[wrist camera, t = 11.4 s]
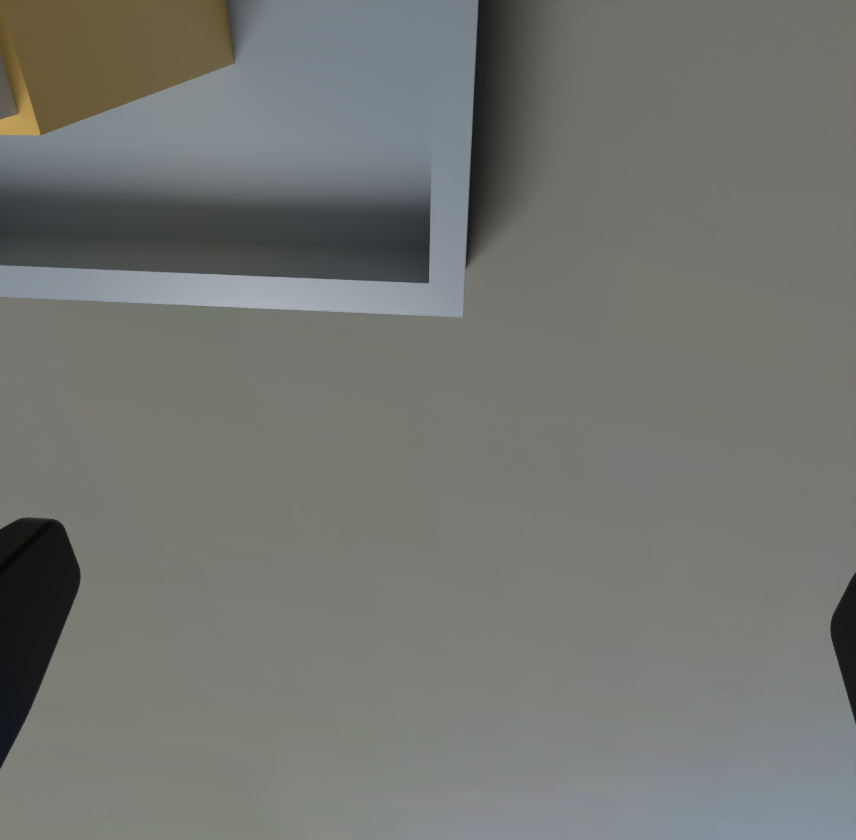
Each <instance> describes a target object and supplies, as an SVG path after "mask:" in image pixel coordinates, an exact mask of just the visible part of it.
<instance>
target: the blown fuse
mask: <svg viewBox="0 0 856 840" xmlns="http://www.w3.org/2000/svg"><path fill="white" fill-rule="evenodd" d="M232 64H235V63H234V56H233V49H232V42H231V35H230V28H229V21H228V14H227V7H226V0H0V135H43V134H46V133H49V132H51V131H54V130H57V129H59V128H62V127H65V126H68V125H70V124H73V123H76V122H78V121H81V120H84V119H86V118H89V117H92V116H94V115H97V114H100V113H103V112H105V111H108V110H111V109H113V108H116V107H119V106H121V105H124V104H127V103H130V102H132V101H135V100H138V99H140V98H143V97H146V96H148V95H151V94H154V93H156V92H159V91H162V90H165V89H167V88H170V87H173V86H175V85H178V84H181V83H183V82H186V81H189V80H191V79H194V78H197V77H200V76H202V75H205V74H208V73H210V72H213V71H216V70H218V69H221V68H224V67H227V66H229V65H232Z"/></svg>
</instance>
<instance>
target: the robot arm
mask: <svg viewBox="0 0 856 840" xmlns="http://www.w3.org/2000/svg"><path fill="white" fill-rule="evenodd" d="M80 577H81V575H80V568H79V565H78V562H77V559H76V557H75V554H74V551H73V549H72V546H71V543H70V541H69V538H68V535H67V533H66V530H65V528H64V526H63V525H62V524H61V523H60V522H59V521H58V520H55V519H46V518H29V517H28V518H21V519H18V520H16V521H14V522H12V523H11V524H9V525H7V526H5V527H3V528H2V529H0V768H1V767H2V765H3V763H4V761H5V759H6V757H7V755H8V753H9V751H10V749H11V747H12V745H13V743H14V741H15V739H16V738H17V736H18V734H19V732H20V730H21V728H22V726H23V724H24V722H25V720H26V717H27V715H28V713H29V711H30V709H31V707H32V704H33V702H34V700H35V698H36V695H37V693H38V691H39V688H40V686H41V683H42V681H43V678H44V675H45V673H46V670H47V668H48V665H49V663H50V660H51V658H52V655H53V653H54V650H55V648H56V645H57V643H58V640H59V638H60V635H61V632H62V630H63V627H64V625H65V622H66V620H67V617H68V615H69V612H70V610H71V607H72V605H73V602H74V600H75V597H76V595H77V592H78V589H79V585H80ZM830 631H831V638H832V642H833V646H834V649H835V653H836V656H837V660H838V663H839V667H840V671H841V674H842V678H843V681H844V685H845V688H846V692H847V695H848V699H849V702H850V706H851V709H852V713H853V716H854V720H855V723H856V573H855V574H854V575H853V577H852V579H851V580H850V582H849V584H848V586H847V588H846V590H845V592H844V594H843V596H842V598H841V600H840V602H839V604H838V606H837V608H836V610H835V612H834V614H833V616H832V620H831V627H830Z"/></svg>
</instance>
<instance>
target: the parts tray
mask: <svg viewBox="0 0 856 840" xmlns="http://www.w3.org/2000/svg"><path fill="white" fill-rule="evenodd" d="M226 7H227V14H228V21H229V28H230V35H231V42H232V49H233V56H234V63H235V64H232V65H229V66H227V67H224V68H221V69H218V70H216V71H213V72H210V73H208V74H205V75H202V76H200V77H197V78H194V79H191V80H189V81H186V82H183V83H181V84H178V85H175V86H173V87H170V88H167V89H165V90H162V91H159V92H156V93H154V94H151V95H148V96H146V97H143V98H140V99H138V100H135V101H132V102H130V103H127V104H124V105H121V106H119V107H116V108H113V109H111V110H108V111H105V112H103V113H100V114H97V115H94V116H92V117H89V118H86V119H84V120H81V121H78V122H76V123H73V124H70V125H68V126H65V127H62V128H59V129H57V130H54V131H51V132H49V133H46V134H43V135H0V297H19V298H41V299H64V300H86V301H109V302H131V303H154V304H176V305H199V306H221V307H244V308H266V309H289V310H311V311H334V312H356V313H379V314H401V315H424V316H446V317H463V303H464V287H465V270H466V250H467V230H468V210H469V189H470V169H471V149H472V129H473V109H474V89H475V68H476V48H477V28H478V8H479V0H226Z"/></svg>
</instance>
